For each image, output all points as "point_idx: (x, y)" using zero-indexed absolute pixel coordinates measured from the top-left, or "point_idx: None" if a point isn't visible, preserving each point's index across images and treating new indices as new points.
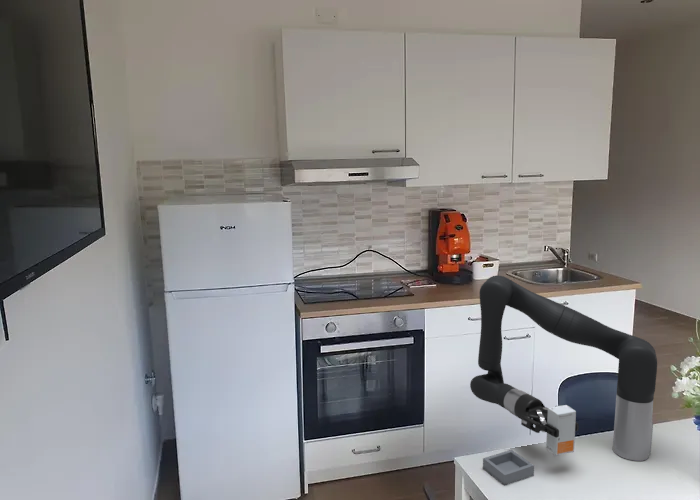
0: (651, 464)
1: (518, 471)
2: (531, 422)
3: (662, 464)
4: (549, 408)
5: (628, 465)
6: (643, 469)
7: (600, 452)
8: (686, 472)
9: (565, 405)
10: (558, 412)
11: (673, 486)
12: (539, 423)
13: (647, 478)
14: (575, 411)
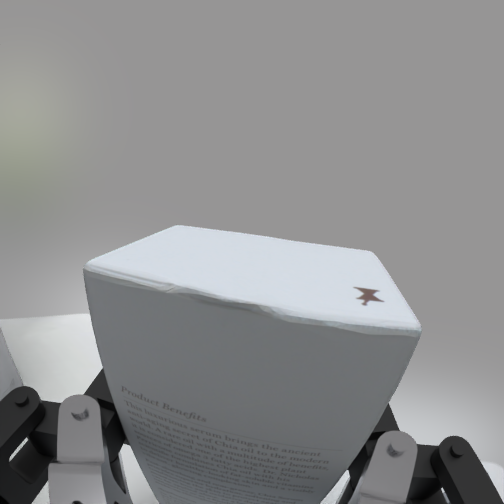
0: (23, 360)
1: (443, 493)
2: (486, 485)
3: (16, 348)
4: (406, 309)
5: (47, 391)
6: (49, 368)
7: (15, 451)
8: (30, 324)
9: (114, 260)
10: (346, 253)
11: (87, 330)
12: (441, 449)
13: (83, 359)
14: (181, 226)
